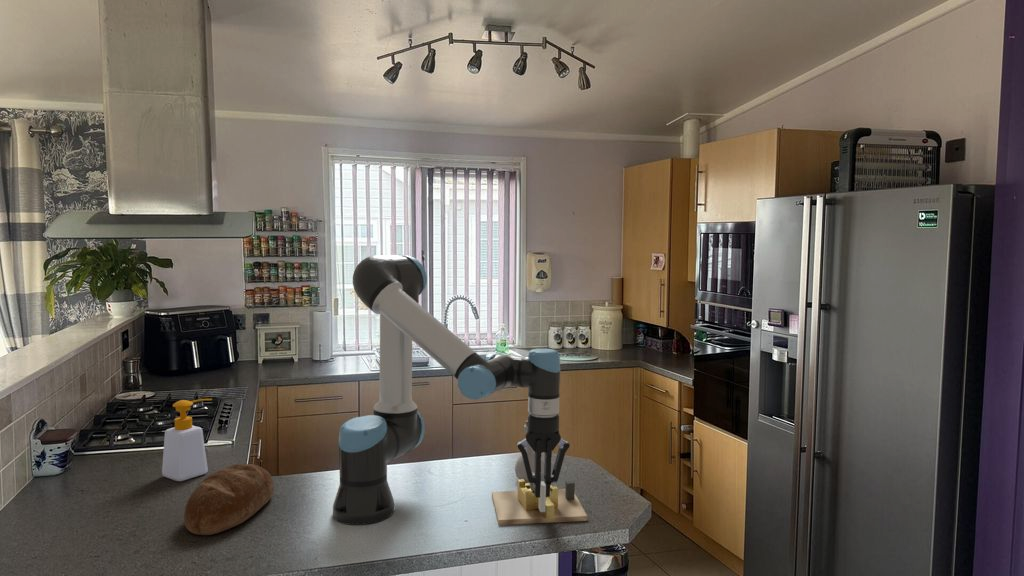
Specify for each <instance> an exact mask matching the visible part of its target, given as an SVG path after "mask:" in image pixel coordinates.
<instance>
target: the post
mask: <svg viewBox="0 0 1024 576" xmlns="http://www.w3.org/2000/svg"><path fill="white" fill-rule="evenodd" d="M532 476H534V471H533V472H532ZM542 481H544V472H542V471H541V482H542ZM530 489H531V490H532V493H534V490H535V484H534V483H530Z"/></svg>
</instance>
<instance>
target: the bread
mask: <svg viewBox="0 0 1024 576" xmlns="http://www.w3.org/2000/svg"><path fill="white" fill-rule="evenodd" d="M274 491H275V483H274V480H273V477H272V475H271V473H269V472H268V470H266V469H265V468H263V467H262V466H259V465H257V464H253V463H246V464H245V463H237V464H232V465H228V466H227V467H224V468H223V469H221V470H218V471H216V472H213V473H212V474H210V475H208V476H206V477H205V478H204V479H203V480H202V481H201V482H200V484H199V485H197V487H195V489H194V490H193V491H192V493H191V494H190V495H189V498H188V500H187V502H186V505H185V509H184V515H183V520H184V525H185V528H186V530H188V531H189V532H190V533H192V534H194V535H197V536H212V535H216V534H219V533H222V532H224V531H227V530H229V529H231V528H234V527H237V526H239V525H241V524H242V523H244V522H245V521H247V520H248V519H250V518H252V517H253V516H254V515H255V514H257V512H258V511H259V510H261V509H262V508H263V507H264V506H265V505H266V504H267V503H268V502H269V501H270V500H271V498H272V497H273V494H274Z"/></svg>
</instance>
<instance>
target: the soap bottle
mask: <svg viewBox="0 0 1024 576" xmlns="http://www.w3.org/2000/svg"><path fill="white" fill-rule="evenodd" d="M212 400H213V398H199V399H195V400H189V399H188V400H186V399H180V400H178V401H176V402H174V403H173V404H172V407H173V408H175V411H176V412H179V414H180V415H179V417H176V418H174V427H171V428H167V429H166V430H165V431H164V438H163V439H164V440H163V441H164V442H163V453H162V467H161V474H162V476H163V478H164V477H165V478H167V479H170V480H172V481H176V482H185V481H186V480H190V479H192V478H196V477H199V476H202V475H205V474H206V473H208V471H209V468H208V461H207V454H206V446H205V440H204V431H203V428H202V427H200V426H198V425H197V426H195V425H193V417H192V416H187V411H190V410H191V406H193V405H194V403H197V402H202V401H212Z"/></svg>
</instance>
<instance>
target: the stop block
mask: <svg viewBox="0 0 1024 576" xmlns="http://www.w3.org/2000/svg"><path fill="white" fill-rule="evenodd" d="M575 484H576V483H575V482H574V480H565V488H564V489H565V497H566V499H567V500H574V494H575V495H576V493H575V492H576V491H575V486H576V485H575Z"/></svg>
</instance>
